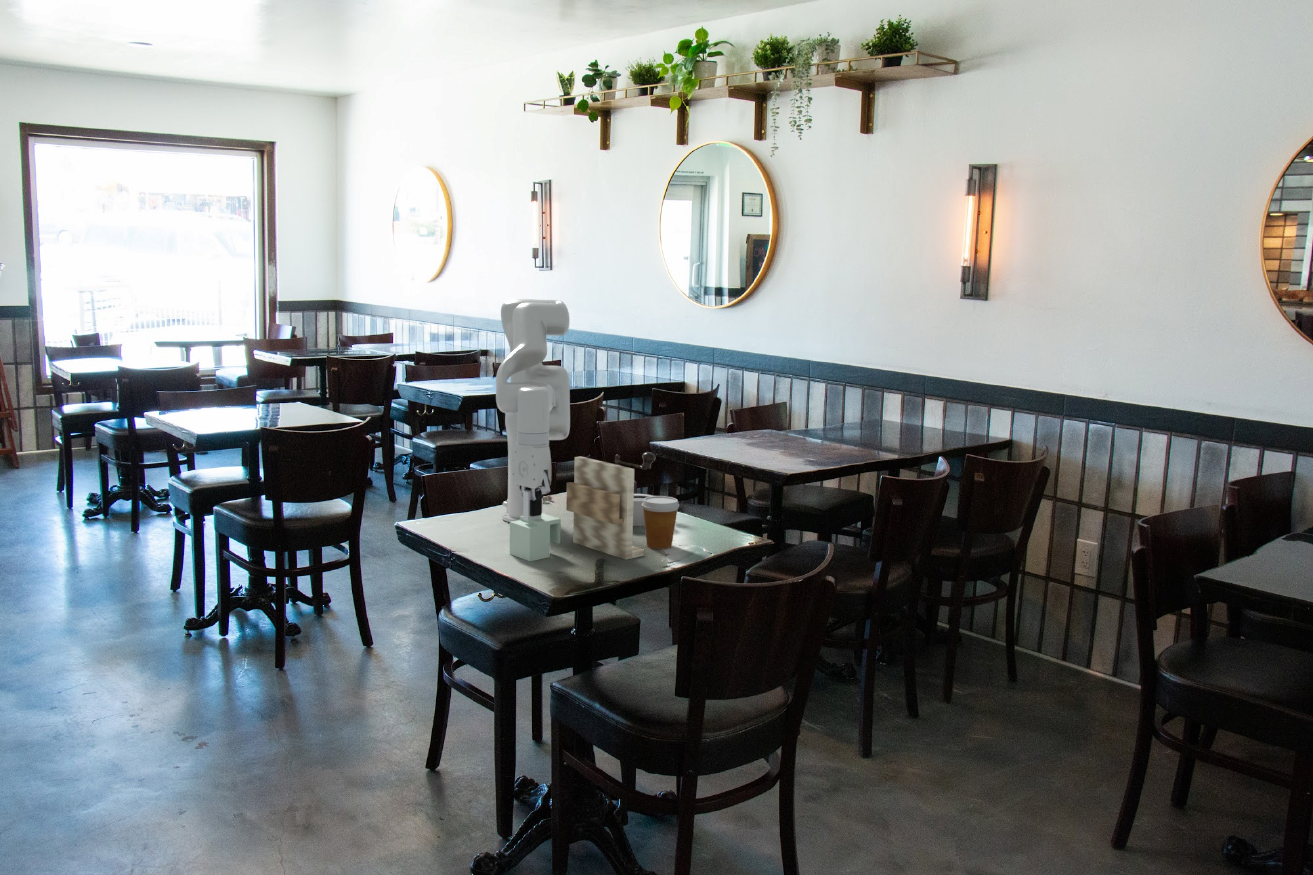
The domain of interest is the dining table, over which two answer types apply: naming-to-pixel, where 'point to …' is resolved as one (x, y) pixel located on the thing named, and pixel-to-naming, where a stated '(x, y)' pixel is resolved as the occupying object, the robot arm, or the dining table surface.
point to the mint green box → (533, 533)
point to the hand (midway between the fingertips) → (532, 513)
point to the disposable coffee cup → (660, 520)
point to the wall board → (603, 507)
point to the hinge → (639, 509)
